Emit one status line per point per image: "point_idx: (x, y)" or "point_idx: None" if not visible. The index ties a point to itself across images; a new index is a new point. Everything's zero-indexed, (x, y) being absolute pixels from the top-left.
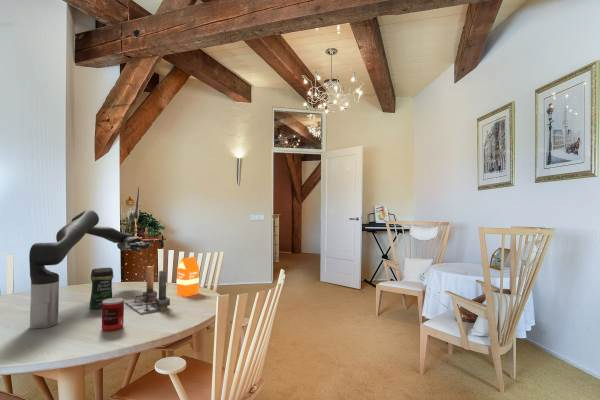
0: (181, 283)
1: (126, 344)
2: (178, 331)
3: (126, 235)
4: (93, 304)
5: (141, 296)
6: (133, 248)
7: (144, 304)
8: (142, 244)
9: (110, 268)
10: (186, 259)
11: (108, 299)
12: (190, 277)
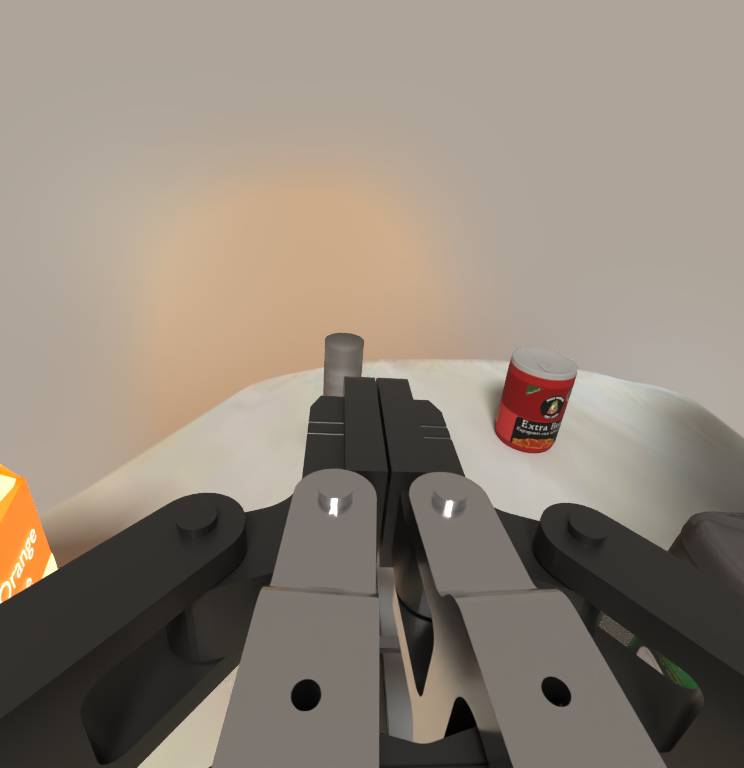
0: None
1: (484, 366)
2: (375, 361)
3: None
4: None
5: (397, 640)
6: (633, 668)
7: (393, 582)
8: (387, 447)
9: (723, 525)
10: None
11: (562, 373)
12: None
